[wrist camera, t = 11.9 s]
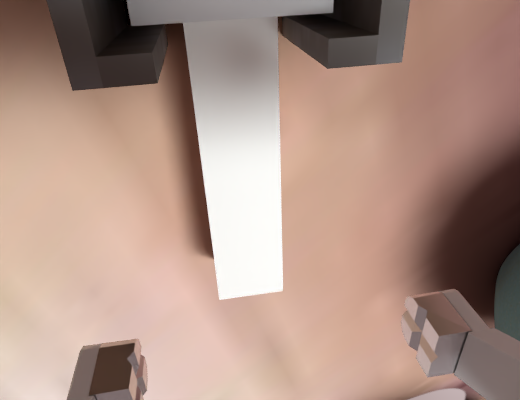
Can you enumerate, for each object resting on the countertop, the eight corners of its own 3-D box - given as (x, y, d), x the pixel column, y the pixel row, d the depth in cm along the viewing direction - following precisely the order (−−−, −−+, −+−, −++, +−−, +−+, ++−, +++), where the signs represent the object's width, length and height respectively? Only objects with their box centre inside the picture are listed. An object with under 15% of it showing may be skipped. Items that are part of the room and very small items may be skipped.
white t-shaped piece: (141, -17, 19) (124, -11, 14) (297, -26, 20) (334, -23, 15) (190, 262, 28) (190, 329, 23) (296, 248, 29) (319, 310, 24)
